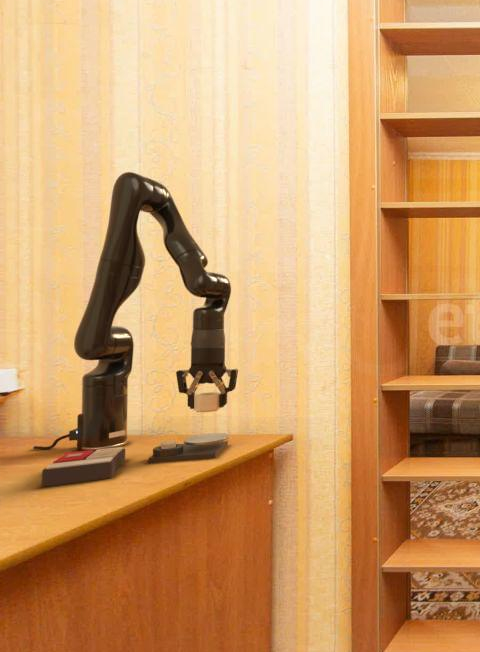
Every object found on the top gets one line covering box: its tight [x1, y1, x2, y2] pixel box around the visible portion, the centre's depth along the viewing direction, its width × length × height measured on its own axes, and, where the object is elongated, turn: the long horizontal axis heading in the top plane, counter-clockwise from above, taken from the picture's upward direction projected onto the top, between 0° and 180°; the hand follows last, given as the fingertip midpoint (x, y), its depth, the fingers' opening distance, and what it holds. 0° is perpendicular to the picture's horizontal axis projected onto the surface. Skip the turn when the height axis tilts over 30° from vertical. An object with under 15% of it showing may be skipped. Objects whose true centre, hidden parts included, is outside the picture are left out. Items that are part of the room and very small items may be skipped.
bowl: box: [193, 391, 221, 413], centre depth 118 cm, size 6×6×4 cm
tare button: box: [160, 440, 177, 449], centre depth 111 cm, size 3×3×2 cm
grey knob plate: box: [148, 440, 229, 464], centre depth 115 cm, size 14×12×3 cm
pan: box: [183, 432, 230, 445], centre depth 118 cm, size 10×10×1 cm
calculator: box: [41, 446, 126, 488], centre depth 100 cm, size 11×4×15 cm
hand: (207, 407), depth 118 cm, fingers closed on bowl, 6 cm apart
